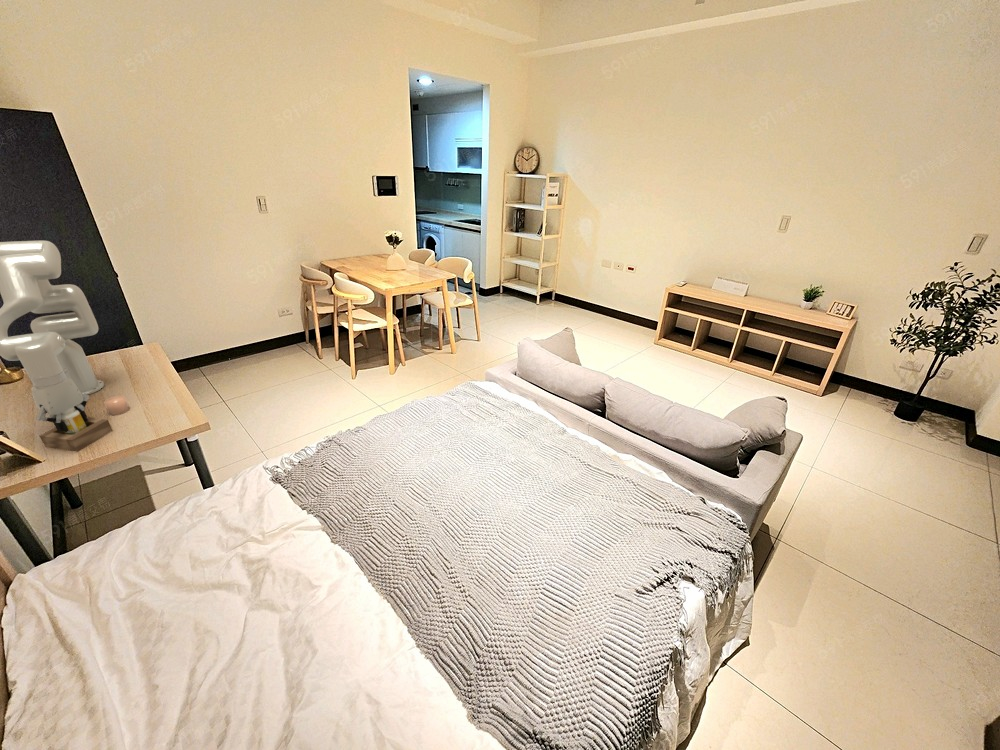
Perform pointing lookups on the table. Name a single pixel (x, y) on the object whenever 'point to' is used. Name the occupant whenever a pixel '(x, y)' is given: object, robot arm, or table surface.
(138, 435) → the table surface
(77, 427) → the supplement bottle
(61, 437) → the base block
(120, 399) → the peach rounded lump
